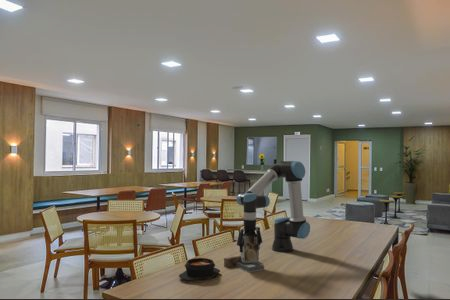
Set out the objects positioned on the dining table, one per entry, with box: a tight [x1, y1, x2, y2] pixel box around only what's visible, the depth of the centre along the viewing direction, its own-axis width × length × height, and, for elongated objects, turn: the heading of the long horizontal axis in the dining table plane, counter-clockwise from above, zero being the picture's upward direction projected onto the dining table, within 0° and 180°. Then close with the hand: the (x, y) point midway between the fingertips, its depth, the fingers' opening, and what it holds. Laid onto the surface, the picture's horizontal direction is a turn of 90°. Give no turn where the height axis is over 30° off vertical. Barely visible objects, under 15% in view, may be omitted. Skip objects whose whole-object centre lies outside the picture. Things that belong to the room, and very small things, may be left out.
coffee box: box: [241, 233, 260, 263], centre depth 209 cm, size 9×6×16 cm
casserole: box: [178, 257, 221, 281], centre depth 193 cm, size 25×19×8 cm
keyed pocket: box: [235, 261, 265, 273], centre depth 209 cm, size 11×14×2 cm
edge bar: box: [223, 255, 242, 268], centre depth 217 cm, size 24×2×5 cm, turn 121°
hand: (249, 256), depth 209 cm, fingers closed on coffee box, 10 cm apart
